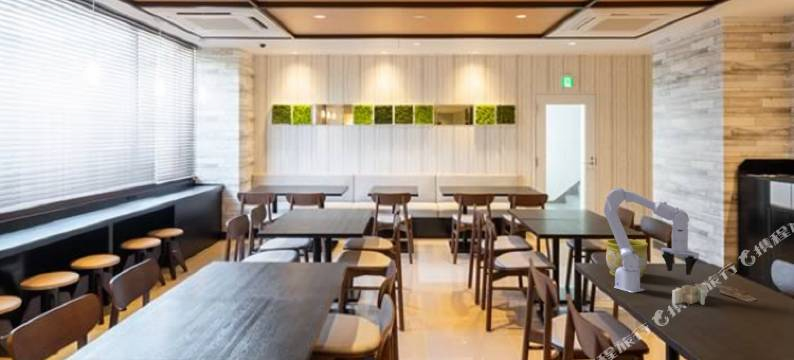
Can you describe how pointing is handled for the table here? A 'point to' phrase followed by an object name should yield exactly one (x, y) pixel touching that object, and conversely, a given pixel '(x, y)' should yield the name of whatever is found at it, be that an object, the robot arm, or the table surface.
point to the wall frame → (678, 292)
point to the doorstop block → (690, 294)
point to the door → (701, 296)
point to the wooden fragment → (735, 293)
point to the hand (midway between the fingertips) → (679, 272)
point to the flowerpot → (616, 259)
